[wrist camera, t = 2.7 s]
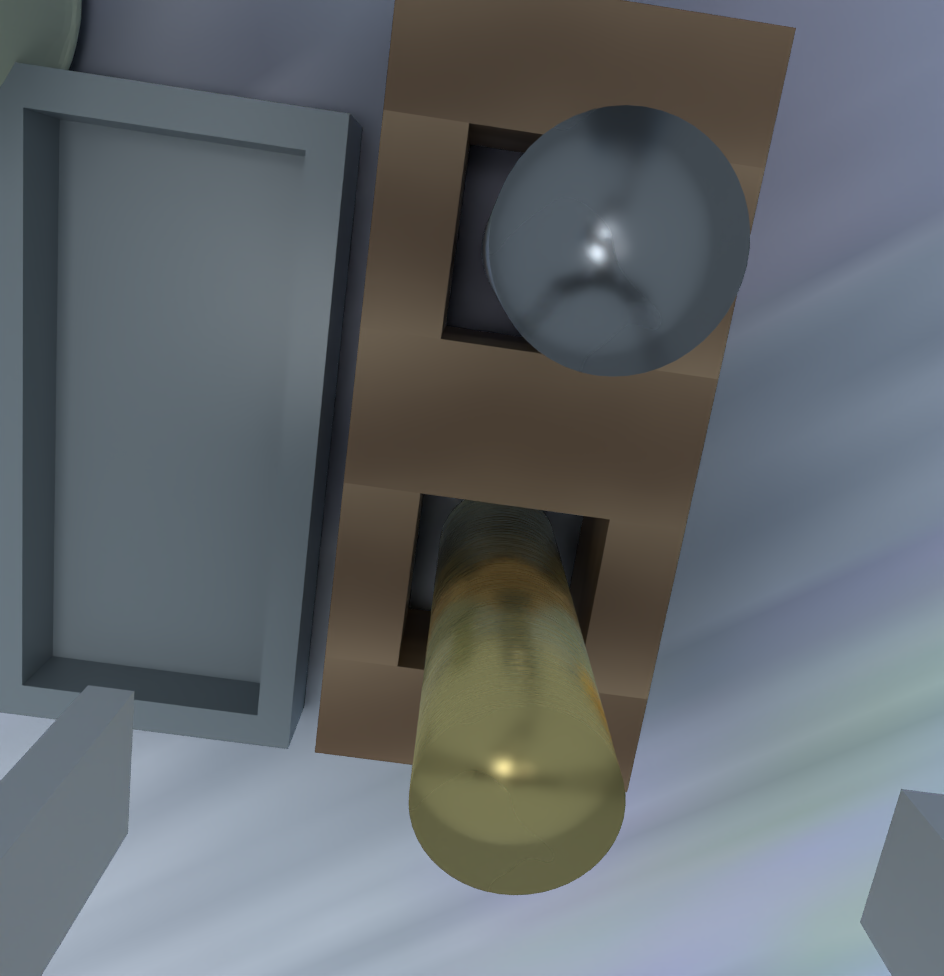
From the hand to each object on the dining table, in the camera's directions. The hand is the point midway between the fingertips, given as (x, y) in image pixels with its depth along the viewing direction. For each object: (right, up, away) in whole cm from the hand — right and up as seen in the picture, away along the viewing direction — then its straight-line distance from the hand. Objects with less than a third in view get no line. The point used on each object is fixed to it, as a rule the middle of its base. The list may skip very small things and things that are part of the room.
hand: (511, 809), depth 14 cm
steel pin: (+1, +12, +10) cm, 16 cm away
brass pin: (0, +4, +12) cm, 13 cm away
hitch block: (+1, +8, +11) cm, 14 cm away
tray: (-9, +7, +11) cm, 16 cm away
